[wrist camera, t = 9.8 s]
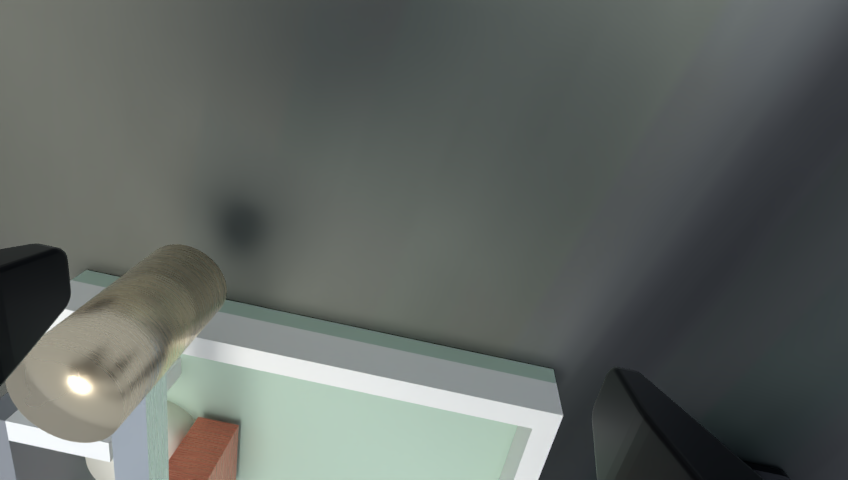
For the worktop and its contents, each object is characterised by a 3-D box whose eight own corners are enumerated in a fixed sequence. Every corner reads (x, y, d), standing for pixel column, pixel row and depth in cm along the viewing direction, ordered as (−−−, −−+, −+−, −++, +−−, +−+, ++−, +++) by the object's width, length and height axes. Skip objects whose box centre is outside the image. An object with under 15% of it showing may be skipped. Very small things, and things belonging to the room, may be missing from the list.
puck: (203, 407, 26) (177, 444, 23) (201, 471, 27) (177, 511, 25) (115, 388, 26) (81, 423, 23) (119, 452, 27) (88, 491, 25)
